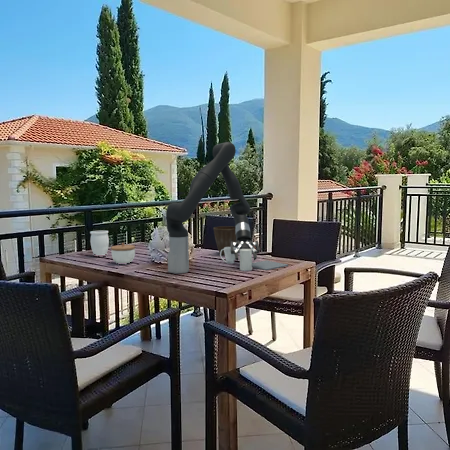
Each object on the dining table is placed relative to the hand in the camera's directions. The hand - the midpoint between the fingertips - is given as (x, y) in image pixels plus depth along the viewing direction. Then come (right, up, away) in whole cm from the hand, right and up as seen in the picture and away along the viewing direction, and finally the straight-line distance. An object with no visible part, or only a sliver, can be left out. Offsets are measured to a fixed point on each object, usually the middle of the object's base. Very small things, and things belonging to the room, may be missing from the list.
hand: (246, 259), depth 206 cm
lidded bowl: (-65, -4, +22) cm, 68 cm away
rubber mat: (+11, -4, +11) cm, 16 cm away
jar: (-84, -2, +43) cm, 94 cm away
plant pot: (-9, -1, +45) cm, 46 cm away
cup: (-9, -3, +20) cm, 23 cm away
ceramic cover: (0, -5, +2) cm, 5 cm away
